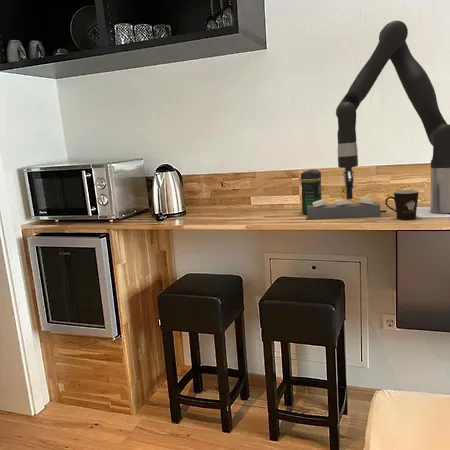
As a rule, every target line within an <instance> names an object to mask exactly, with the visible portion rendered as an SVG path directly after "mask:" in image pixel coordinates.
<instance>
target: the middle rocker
mask: <svg viewBox="0 0 450 450" xmlns="http://www.w3.org/2000/svg"><path fill="white" fill-rule="evenodd" d="M350 203H351V201H350V199H347V198H342V199H341V198H340V199H335V204H336V205H344V204H350Z"/></svg>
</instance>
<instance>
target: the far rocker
mask: <svg viewBox="0 0 450 450" xmlns="http://www.w3.org/2000/svg"><path fill="white" fill-rule="evenodd" d="M324 204H325V205H326V204H327V200H326V198H322V200H319V201H316V202H313V207H317V206H321V205H324Z"/></svg>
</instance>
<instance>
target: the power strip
mask: <svg viewBox="0 0 450 450" xmlns="http://www.w3.org/2000/svg"><path fill="white" fill-rule="evenodd" d="M387 212H388V211H387V210H386V209H381V204H380V203H379V202H378V201H374V202H373V205H372V204H367V203H361V202H352V203H351V202H350V204H344V205H336V203H332V204H329V203H328V204H324V205H321V206H317V207H313V205H307V214H306V216H307V220H308V221H309V220H329V219H330V220H331V219H348V218H349V219H350V218H351V219H353V218H374V217H381V214H384V213H387Z"/></svg>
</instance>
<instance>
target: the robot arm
mask: <svg viewBox="0 0 450 450" xmlns="http://www.w3.org/2000/svg"><path fill="white" fill-rule="evenodd" d="M378 34H379V36H378V43H377V45H376V47H375V48H374V51H373V53H372V54H371V56H369V59H368V60H367V62H366V63H365V64H364V66H363V67H361V70H360V71H359V72H358V74H357V75H356V77H355V79H354V80H353V81H352V83H351V85H350V86H349V88H348V91H347V93H345V95H344V97H342V100H340V102H339V104H338V105H337V106H336V108H335V116H336V117H337V128H338V129H337V133H336V134H337V167H338V168H339V169H344V171H342V176H343V182H344V188H345V191H346V194H345V195H346V199H349V200H352V199H353V198H354V197H353V189H354V182H355V181H354V180H355V179H354V177H355V171H353V169H352V168H356V167H358V166H359V159H358V158H359V155H358V154H359V153H358V151H359V150H358V144H357V131H356V127H357V110H358V108H359V106H360V105H361V103H362V102H363V101H364V99H365V98H367V96H368V94H369V92H370V91H371V90H372V88H373V86H374V84H375V83H376V81H377V79H378V78H379V76H380V75H381V73H382V71H383V69H384V68H385V66H386V65H387V63H388V62H389V60H390V61H391V63H392V65H393V66H394V70H395V72H396V74H397V77H398V79H399V81H400V84H401V85H402V88H403V90H404V92H405V94H406V96H407V98H408V100H409V101H410V103H411V106H412V107H413V109H414V110H415V112H416V113H417V115H418V117H419V119H420V120H421V123H422V125H423V128H424V130H425V134H426V137H427V138H428V142H429V143H430V145H431V146H432V158H431V160H430V212H431V213H432V214H433V213H434V214H450V124H448V123H447V121H446V120H445V118H444V117H443V115H442V113H441V110H440V109H439V104H438V98H437V95H436V90H435V87H434V86H433V84H432V81H431V79H430V78H429V75H428V74H427V72H426V70H425V69H424V68H423V67H422V65H421V64H420V63H419V62H418V61H417V60H416V58H415V57H414V56H413V55H412V53H411V50H410V48H409V46H408V44H407V43H408V42H407V41H406V40H407V38H408V35H409V28H408V27H407V25H406V23H404V22H403V21H401V20H391V21H390V22H388V23H387V24H385V26H384V27H382V29H381V30H380V31H379V33H378Z"/></svg>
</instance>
